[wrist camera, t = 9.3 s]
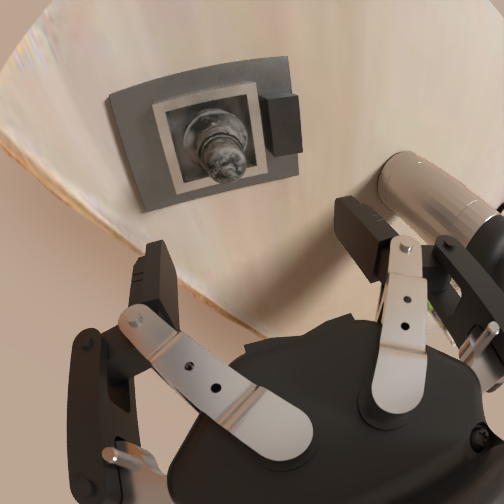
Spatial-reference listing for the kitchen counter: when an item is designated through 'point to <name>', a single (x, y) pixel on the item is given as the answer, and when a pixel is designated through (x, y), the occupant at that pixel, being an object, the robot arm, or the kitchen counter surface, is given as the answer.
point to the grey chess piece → (217, 144)
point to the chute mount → (200, 98)
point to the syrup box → (439, 323)
